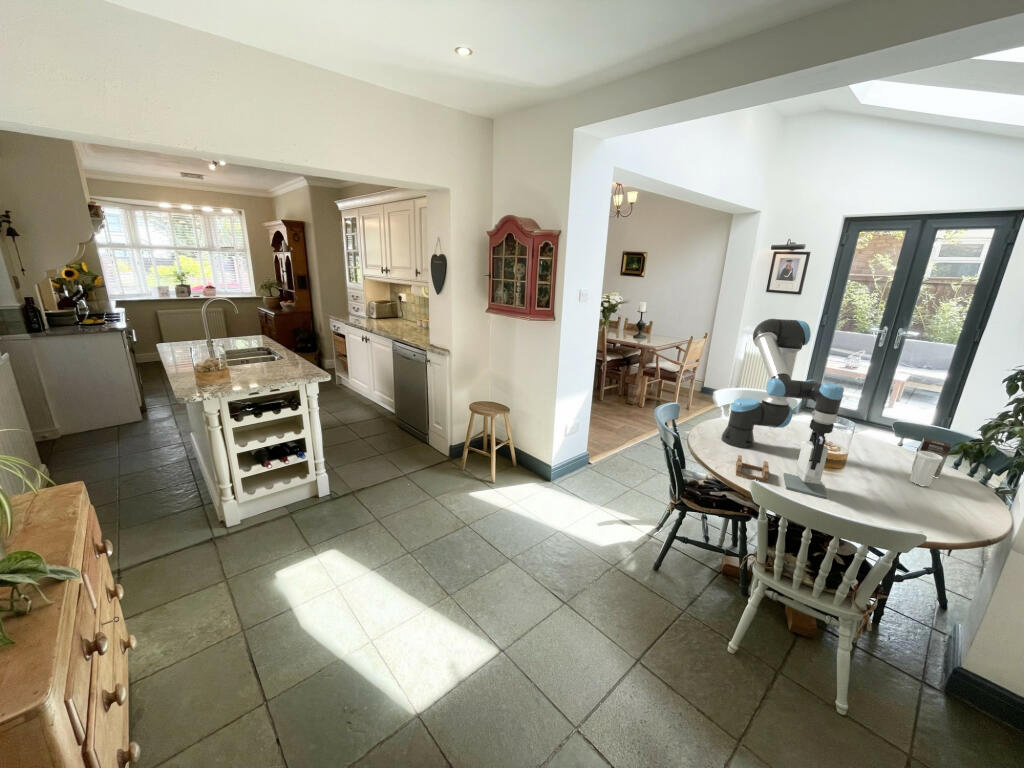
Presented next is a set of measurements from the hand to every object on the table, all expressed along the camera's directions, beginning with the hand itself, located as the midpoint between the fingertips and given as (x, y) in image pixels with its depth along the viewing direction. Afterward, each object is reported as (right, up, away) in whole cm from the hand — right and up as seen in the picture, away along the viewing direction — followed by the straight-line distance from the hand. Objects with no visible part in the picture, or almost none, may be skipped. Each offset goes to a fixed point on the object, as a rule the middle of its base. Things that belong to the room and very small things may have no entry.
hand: (808, 470), depth 174 cm
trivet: (0, -7, +2) cm, 8 cm away
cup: (+55, -8, +9) cm, 57 cm away
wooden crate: (-18, -4, +11) cm, 21 cm away
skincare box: (0, -4, +1) cm, 4 cm away
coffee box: (+68, -5, +19) cm, 71 cm away
